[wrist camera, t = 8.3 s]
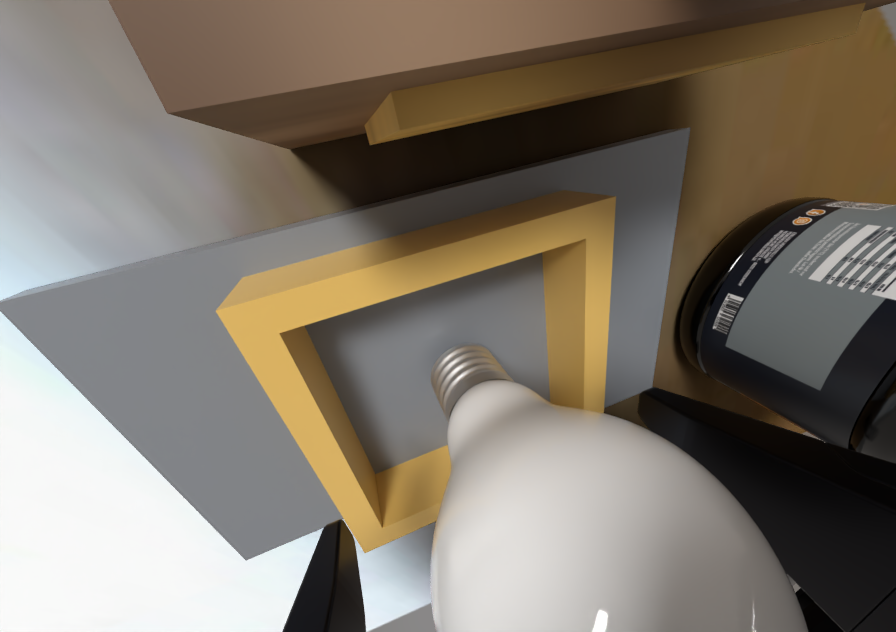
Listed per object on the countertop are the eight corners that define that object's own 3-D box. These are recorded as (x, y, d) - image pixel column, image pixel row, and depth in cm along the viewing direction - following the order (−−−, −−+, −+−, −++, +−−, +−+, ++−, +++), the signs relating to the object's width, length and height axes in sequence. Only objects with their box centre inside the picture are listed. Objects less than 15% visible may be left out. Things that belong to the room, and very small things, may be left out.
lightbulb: (511, 413, 16) (781, 795, 6) (378, 434, 14) (484, 1052, 4) (539, 290, 13) (1077, 630, 4) (380, 292, 11) (675, 1093, 2)
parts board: (666, 129, 13) (767, 119, 10) (637, 377, 19) (694, 417, 16) (25, 290, 9) (-131, 354, 6) (251, 537, 15) (230, 631, 12)
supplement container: (751, 364, 23) (1102, 534, 12) (640, 370, 19) (1004, 617, 9) (845, 208, 19) (1484, 265, 8) (726, 178, 15) (1594, 213, 5)
